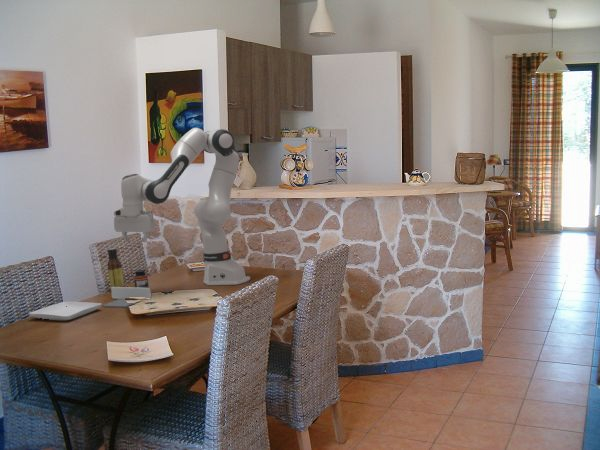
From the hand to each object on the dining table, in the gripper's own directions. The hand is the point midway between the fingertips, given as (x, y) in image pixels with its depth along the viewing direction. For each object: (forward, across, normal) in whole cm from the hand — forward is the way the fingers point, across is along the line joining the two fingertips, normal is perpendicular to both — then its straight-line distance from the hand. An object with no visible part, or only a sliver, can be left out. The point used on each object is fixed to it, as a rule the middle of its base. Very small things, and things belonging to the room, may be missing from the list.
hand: (135, 241), depth 324 cm
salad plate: (+26, +10, +36) cm, 45 cm away
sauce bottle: (+25, +19, -8) cm, 32 cm away
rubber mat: (+24, -2, +16) cm, 29 cm away
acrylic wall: (+24, 0, +7) cm, 25 cm away
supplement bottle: (+24, -1, 0) cm, 25 cm away
